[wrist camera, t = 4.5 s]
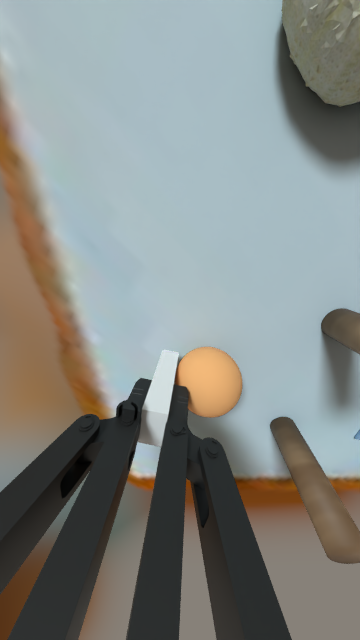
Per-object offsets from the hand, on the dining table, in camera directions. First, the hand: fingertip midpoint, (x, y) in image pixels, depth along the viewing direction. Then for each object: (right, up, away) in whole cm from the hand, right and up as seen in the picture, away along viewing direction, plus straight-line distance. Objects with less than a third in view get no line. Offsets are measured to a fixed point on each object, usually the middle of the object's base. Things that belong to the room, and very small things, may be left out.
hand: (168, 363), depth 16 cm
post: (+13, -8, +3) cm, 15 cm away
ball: (+3, -1, -1) cm, 4 cm away
